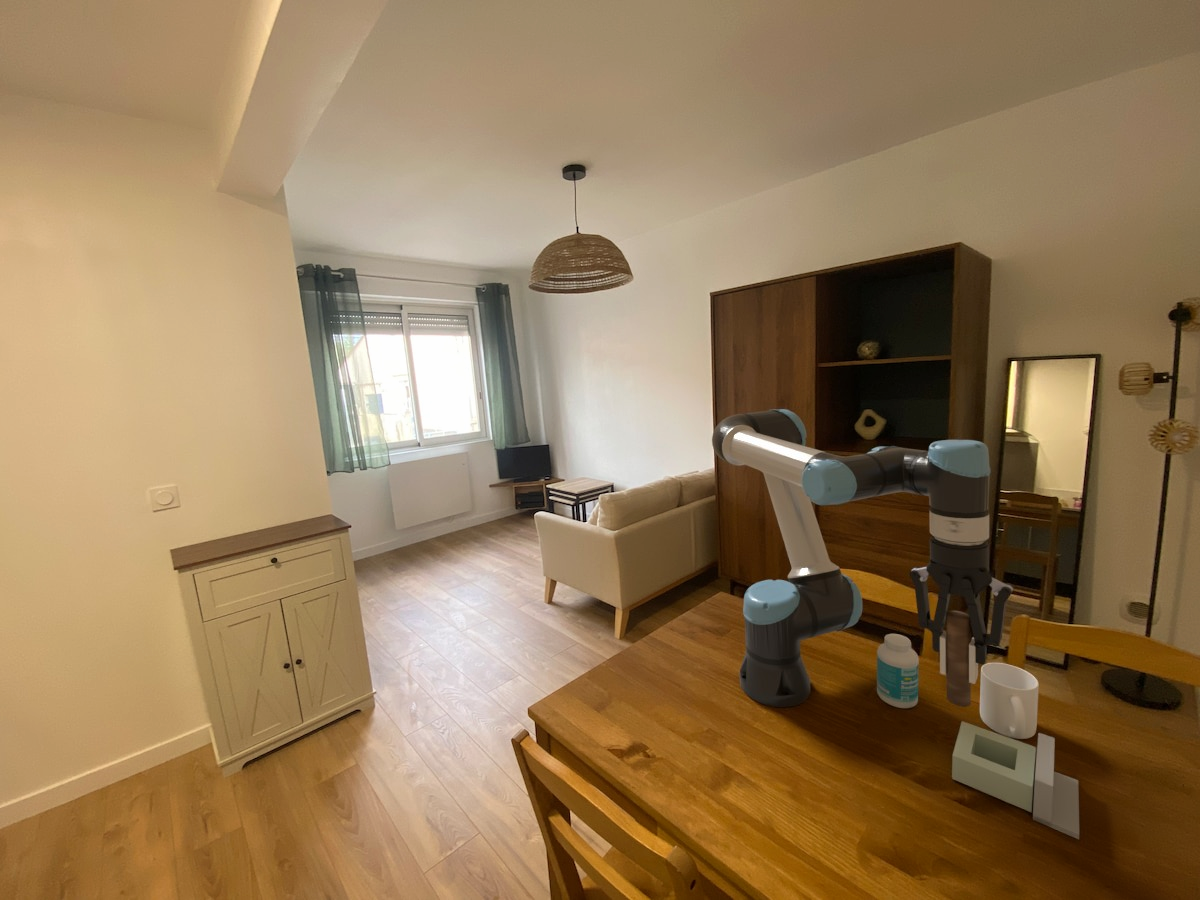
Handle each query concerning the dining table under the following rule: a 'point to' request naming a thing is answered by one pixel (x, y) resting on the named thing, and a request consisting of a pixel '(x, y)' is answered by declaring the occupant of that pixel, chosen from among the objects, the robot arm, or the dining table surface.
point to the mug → (1009, 700)
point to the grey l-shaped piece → (1054, 792)
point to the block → (995, 765)
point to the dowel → (958, 657)
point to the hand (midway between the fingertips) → (958, 674)
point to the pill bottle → (897, 672)
